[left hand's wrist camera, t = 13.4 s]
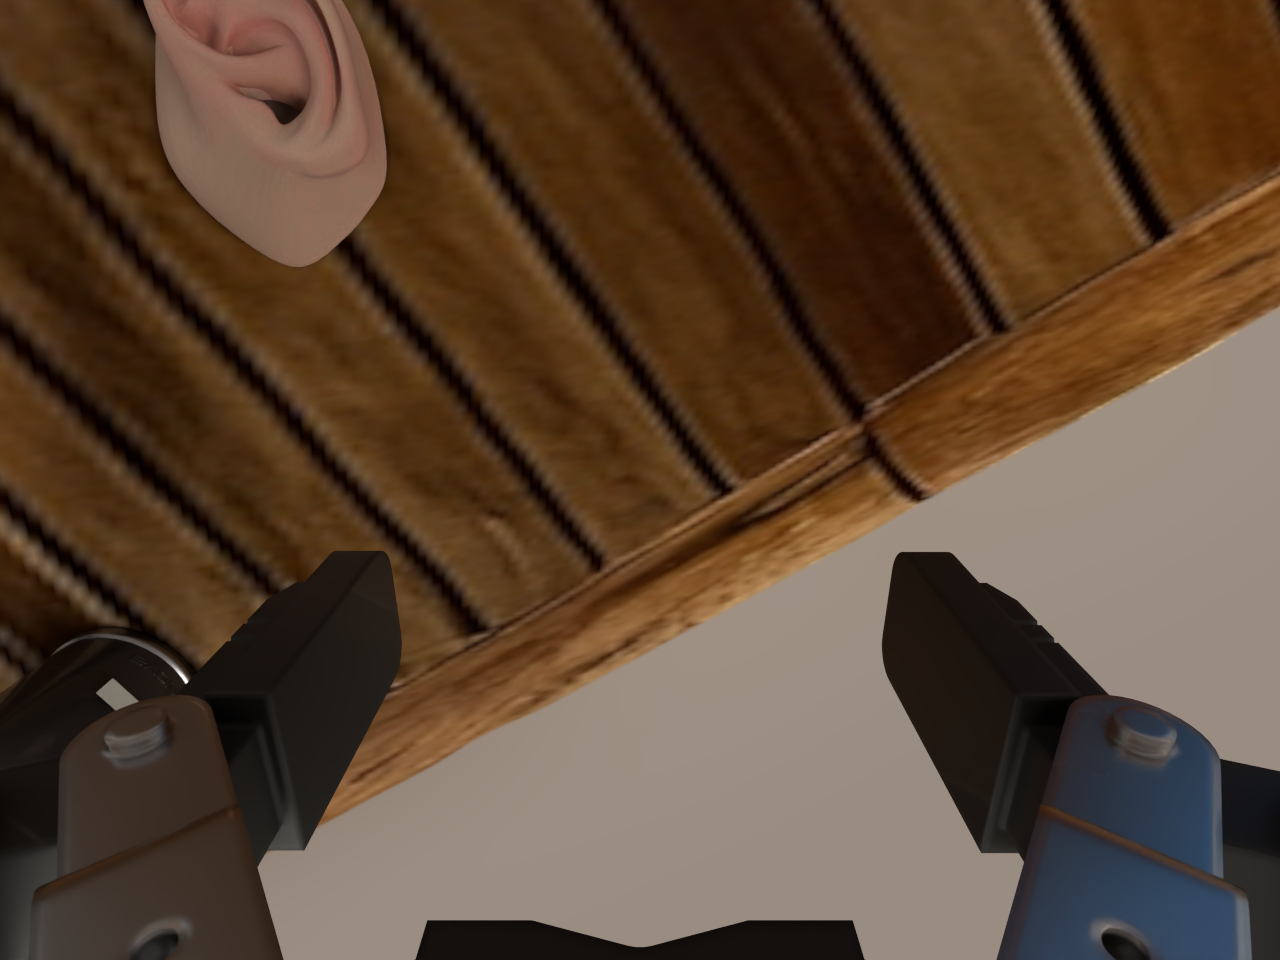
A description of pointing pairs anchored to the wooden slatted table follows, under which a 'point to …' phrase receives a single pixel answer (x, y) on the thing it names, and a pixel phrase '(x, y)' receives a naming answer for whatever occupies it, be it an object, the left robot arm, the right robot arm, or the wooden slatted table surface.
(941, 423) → the wooden slatted table surface
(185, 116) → the anatomical model
